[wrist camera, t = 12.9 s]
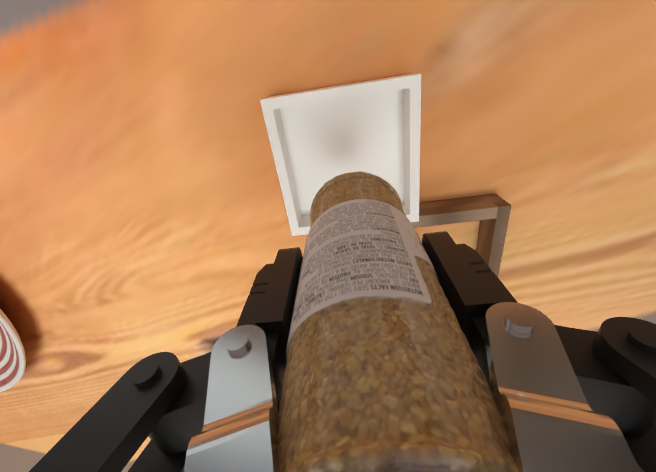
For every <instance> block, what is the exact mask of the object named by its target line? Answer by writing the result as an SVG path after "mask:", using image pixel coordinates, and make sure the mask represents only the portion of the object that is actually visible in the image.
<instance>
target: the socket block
mask: <svg viewBox="0 0 656 472" xmlns="http://www.w3.org/2000/svg"><path fill="white" fill-rule="evenodd" d="M510 210H511V205H510V204H509V203H507V202H506V201H505V200H503V199H502V198H501V197H499V196H498V195H497V194H491V195H483V196H474V197H466V198H458V199H450V200H441V201H433V202H425V203H419V222H411V223H412V225H413V227H414V228H415V227H424V226H433V225H442V224H450V223H459V222H468V221H477V220H480V228H479V235H478V243H477V250H476V251H477V252H478V253H479V254H480V256H481V257H482V258H483V259H484V261H485V263H487V265H488V266H489V267H490V268H491V270H492V272H494V273H495V275H496V276H497V277H498V273H499V268H500V262H501V257H502V252H503V247H504V241H505V236H506V231H507V225H508V220H509V215H510Z"/></svg>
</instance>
